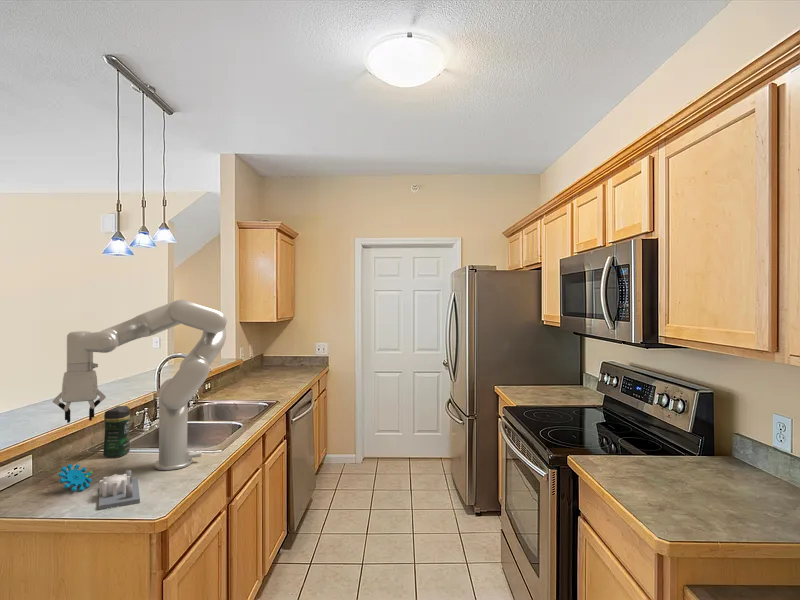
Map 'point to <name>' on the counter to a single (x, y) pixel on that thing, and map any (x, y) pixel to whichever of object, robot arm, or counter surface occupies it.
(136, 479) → the carrier plate
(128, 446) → the coffee jar
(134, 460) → the counter surface
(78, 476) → the gear
